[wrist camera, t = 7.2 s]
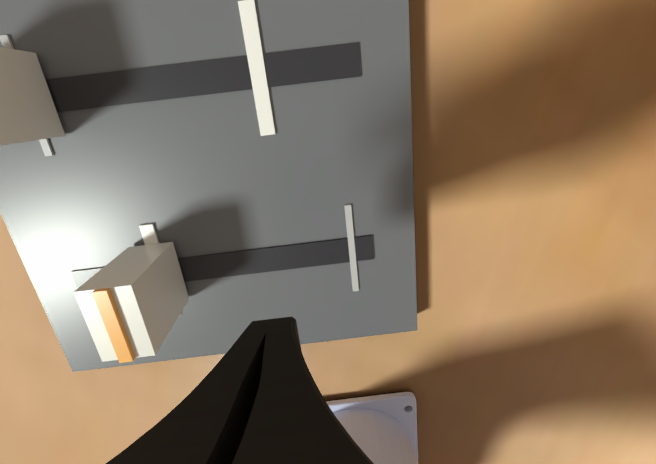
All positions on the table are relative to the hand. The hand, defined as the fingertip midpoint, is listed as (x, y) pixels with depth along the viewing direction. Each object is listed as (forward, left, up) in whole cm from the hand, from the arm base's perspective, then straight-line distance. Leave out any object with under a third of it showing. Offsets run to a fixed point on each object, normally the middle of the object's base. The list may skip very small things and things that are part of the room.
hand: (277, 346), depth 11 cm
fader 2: (0, +6, -6) cm, 9 cm away
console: (+4, +3, -8) cm, 9 cm away
